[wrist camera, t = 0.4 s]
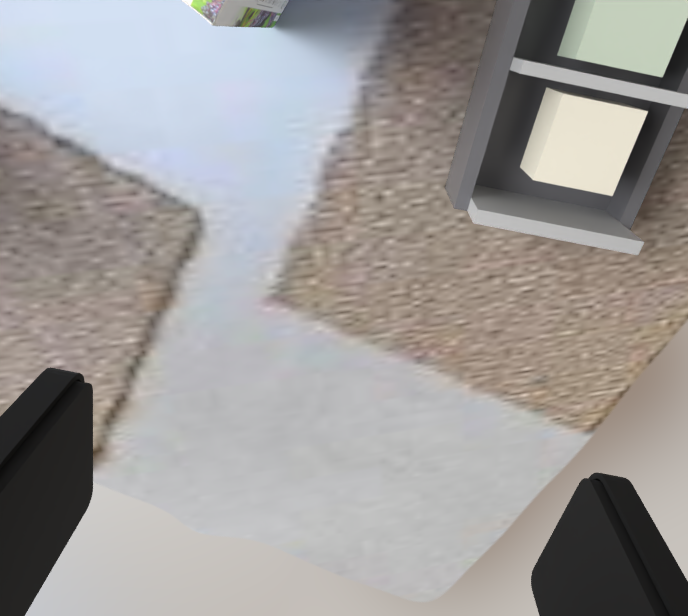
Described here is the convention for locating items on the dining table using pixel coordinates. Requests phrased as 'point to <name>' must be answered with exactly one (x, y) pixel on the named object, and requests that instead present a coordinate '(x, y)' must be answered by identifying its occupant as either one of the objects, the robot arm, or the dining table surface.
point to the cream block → (581, 141)
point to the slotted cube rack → (519, 117)
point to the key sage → (625, 33)
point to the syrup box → (239, 12)
